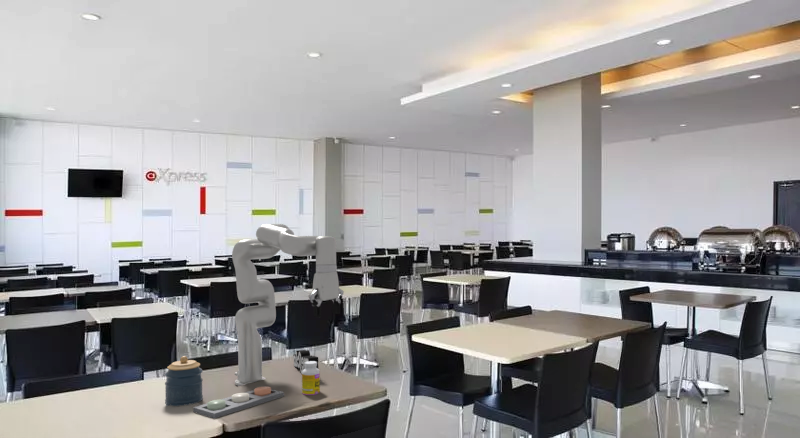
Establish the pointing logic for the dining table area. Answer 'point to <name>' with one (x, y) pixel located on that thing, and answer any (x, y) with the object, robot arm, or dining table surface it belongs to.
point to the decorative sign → (303, 359)
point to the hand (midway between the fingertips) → (326, 315)
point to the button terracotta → (262, 391)
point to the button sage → (216, 405)
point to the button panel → (238, 404)
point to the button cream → (240, 397)
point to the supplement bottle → (310, 379)
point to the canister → (183, 383)
